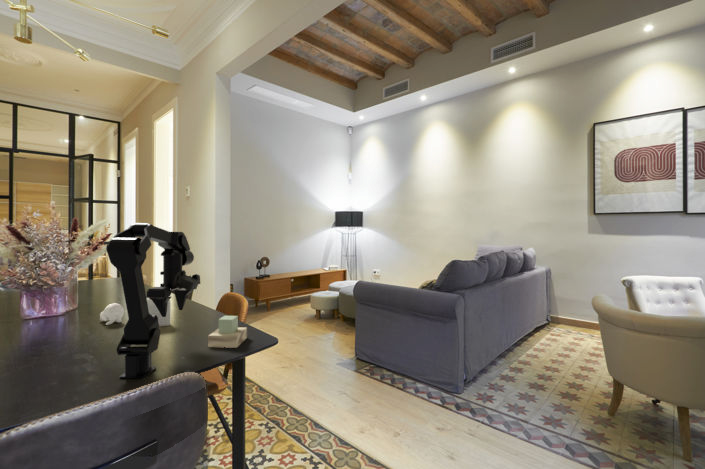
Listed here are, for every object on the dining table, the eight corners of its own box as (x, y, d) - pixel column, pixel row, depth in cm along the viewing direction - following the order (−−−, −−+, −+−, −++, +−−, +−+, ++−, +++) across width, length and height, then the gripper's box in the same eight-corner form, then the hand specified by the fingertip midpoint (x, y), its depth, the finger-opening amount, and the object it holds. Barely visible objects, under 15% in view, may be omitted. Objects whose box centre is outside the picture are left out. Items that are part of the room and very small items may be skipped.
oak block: (236, 347, 113) (236, 336, 113) (208, 347, 114) (208, 335, 114) (246, 337, 123) (246, 327, 123) (220, 337, 124) (220, 326, 124)
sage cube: (232, 333, 116) (232, 319, 116) (218, 333, 116) (218, 319, 116) (237, 329, 121) (237, 315, 121) (224, 329, 121) (224, 315, 121)
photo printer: (170, 323, 141) (169, 294, 140) (170, 325, 137) (170, 296, 137) (141, 327, 135) (141, 297, 135) (141, 329, 131) (141, 299, 131)
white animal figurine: (108, 305, 135) (93, 304, 141) (109, 325, 135) (94, 324, 141) (124, 302, 141) (110, 301, 146) (126, 322, 140) (111, 320, 146)
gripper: (178, 272, 103) (178, 321, 103) (209, 265, 121) (209, 307, 122) (145, 271, 104) (145, 320, 104) (180, 265, 122) (180, 306, 122)
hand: (172, 313), depth 113 cm, fingers open, 9 cm apart
